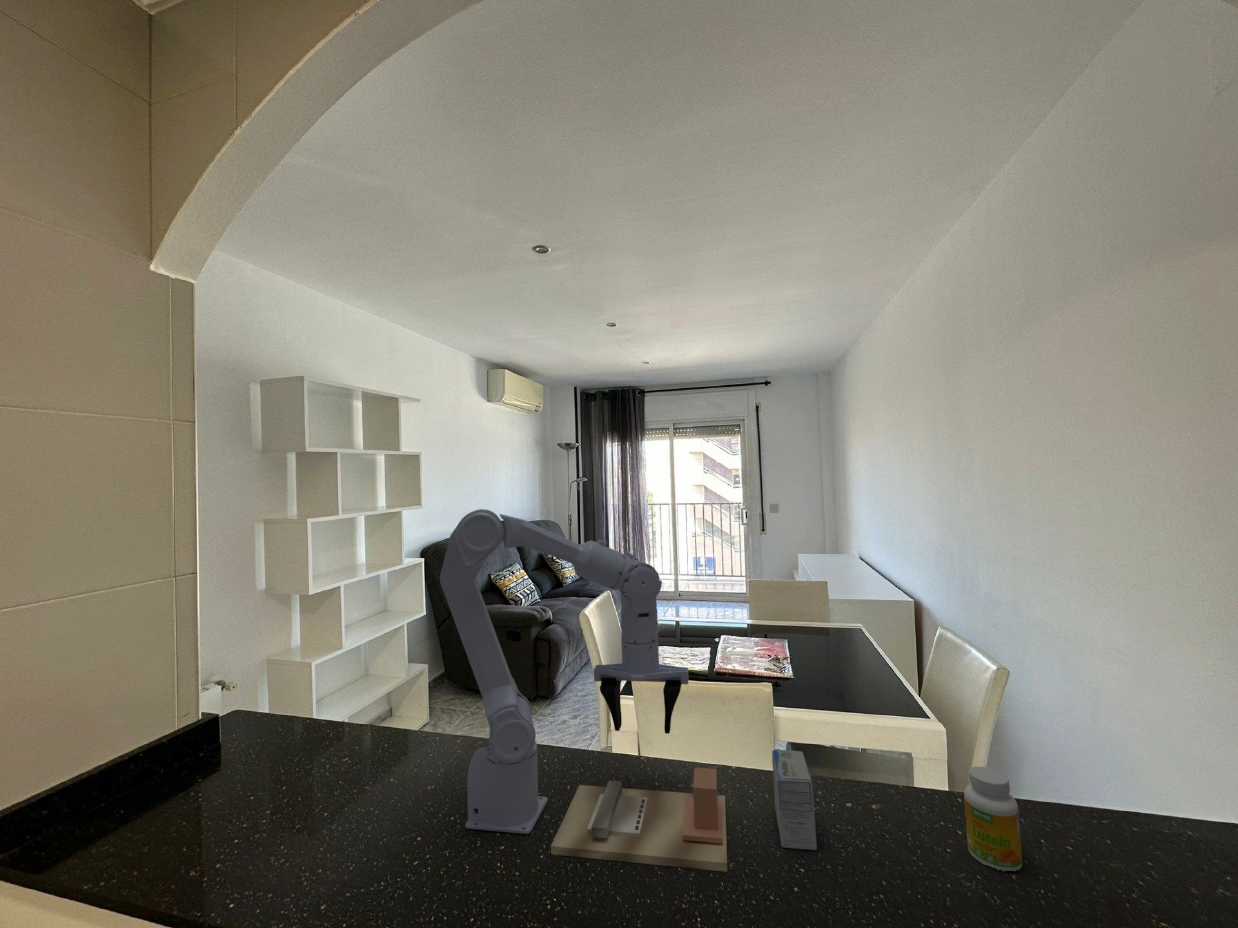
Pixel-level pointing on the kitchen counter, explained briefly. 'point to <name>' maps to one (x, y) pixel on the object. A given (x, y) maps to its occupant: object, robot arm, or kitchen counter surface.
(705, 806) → the stub
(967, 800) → the supplement bottle
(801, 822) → the medicine box
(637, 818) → the board
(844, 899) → the kitchen counter surface
